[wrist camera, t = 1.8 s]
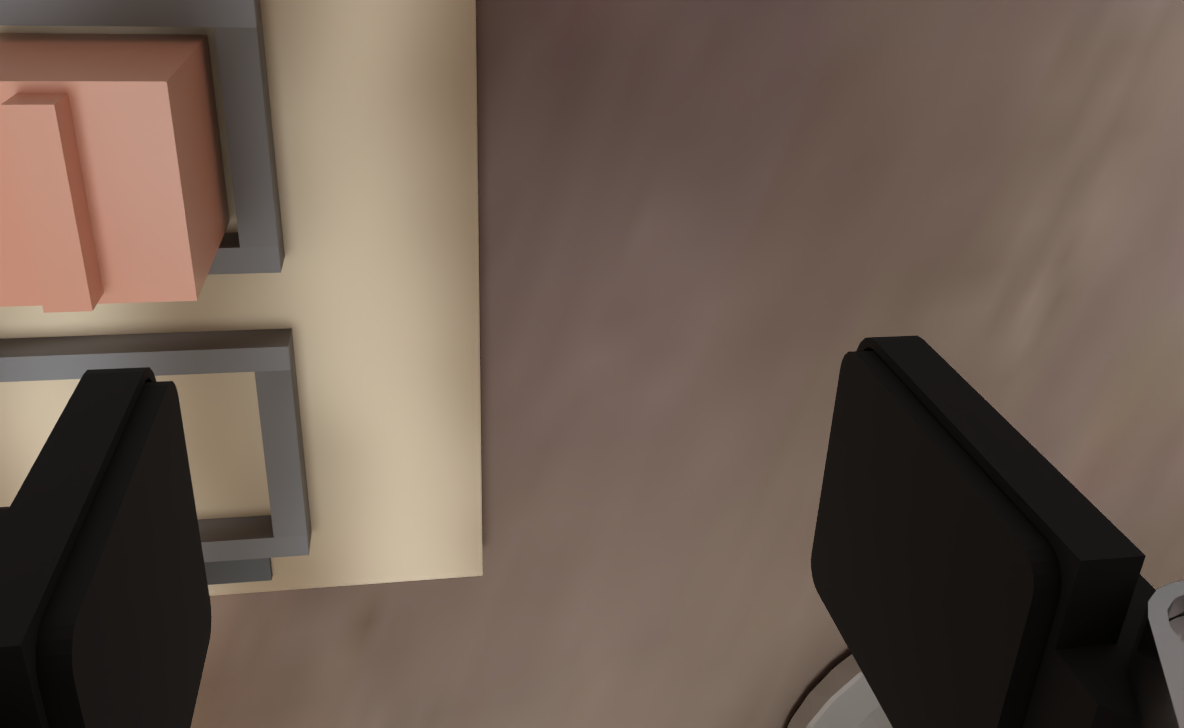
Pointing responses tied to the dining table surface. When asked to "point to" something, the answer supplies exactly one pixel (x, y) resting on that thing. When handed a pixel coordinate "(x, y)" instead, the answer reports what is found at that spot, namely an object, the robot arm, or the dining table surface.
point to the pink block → (107, 169)
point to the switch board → (304, 295)
